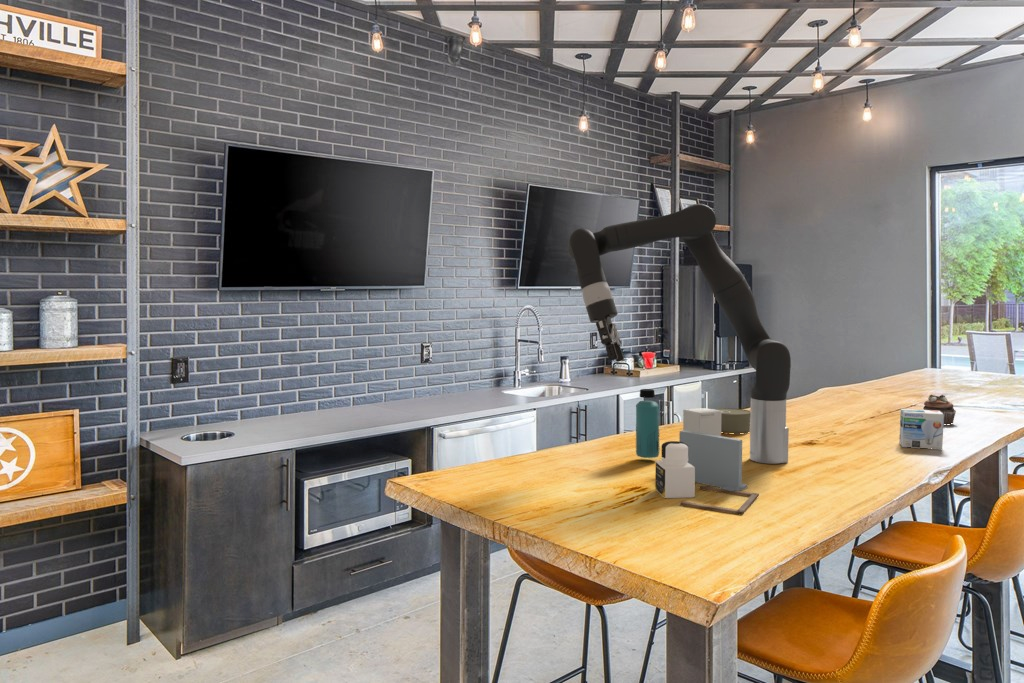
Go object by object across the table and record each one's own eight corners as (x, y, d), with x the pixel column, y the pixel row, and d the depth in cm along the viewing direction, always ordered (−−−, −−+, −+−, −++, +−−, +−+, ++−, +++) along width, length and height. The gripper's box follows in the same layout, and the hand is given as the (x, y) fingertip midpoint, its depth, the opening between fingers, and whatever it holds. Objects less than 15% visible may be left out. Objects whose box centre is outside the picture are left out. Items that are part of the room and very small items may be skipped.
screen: (672, 480, 169) (673, 432, 168) (688, 475, 174) (688, 428, 173) (732, 493, 157) (733, 442, 156) (747, 487, 162) (748, 437, 161)
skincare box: (698, 472, 176) (698, 412, 175) (680, 467, 182) (681, 409, 181) (722, 468, 180) (723, 410, 179) (704, 463, 186) (705, 406, 185)
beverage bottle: (659, 463, 186) (660, 390, 184) (634, 462, 187) (635, 390, 186) (659, 458, 192) (659, 387, 191) (635, 457, 193) (635, 387, 192)
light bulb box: (901, 447, 203) (902, 411, 202) (898, 443, 209) (899, 408, 208) (943, 450, 199) (944, 413, 198) (939, 445, 205) (940, 410, 204)
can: (755, 435, 223) (756, 414, 223) (718, 435, 224) (719, 414, 223) (743, 427, 235) (744, 408, 235) (708, 428, 235) (709, 408, 235)
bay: (680, 505, 149) (680, 502, 149) (700, 488, 162) (700, 485, 162) (742, 515, 142) (742, 512, 142) (758, 496, 155) (758, 493, 155)
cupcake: (930, 425, 236) (931, 396, 235) (918, 420, 245) (919, 392, 245) (960, 426, 234) (961, 397, 234) (947, 421, 244) (948, 393, 243)
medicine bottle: (655, 490, 161) (655, 439, 160) (684, 489, 162) (684, 439, 161) (664, 499, 154) (664, 446, 153) (695, 497, 154) (695, 445, 154)
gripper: (607, 294, 173) (625, 355, 171) (617, 300, 186) (635, 357, 184) (579, 303, 175) (597, 364, 173) (592, 309, 189) (609, 365, 186)
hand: (617, 360), depth 178 cm, fingers open, 8 cm apart
